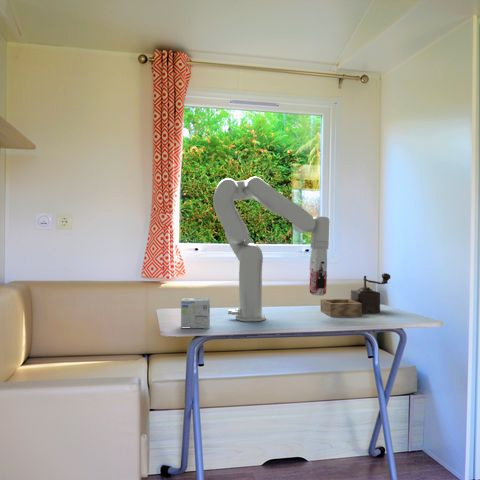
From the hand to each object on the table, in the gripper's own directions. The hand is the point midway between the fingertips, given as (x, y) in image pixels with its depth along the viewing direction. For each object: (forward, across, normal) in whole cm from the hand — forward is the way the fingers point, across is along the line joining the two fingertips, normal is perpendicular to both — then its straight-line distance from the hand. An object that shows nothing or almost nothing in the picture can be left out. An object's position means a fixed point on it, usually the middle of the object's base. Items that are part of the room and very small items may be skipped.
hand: (317, 287), depth 177 cm
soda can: (+4, 0, 0) cm, 4 cm away
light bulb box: (+15, +13, -52) cm, 55 cm away
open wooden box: (+13, -8, +13) cm, 20 cm away
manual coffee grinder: (+12, -12, +29) cm, 34 cm away
